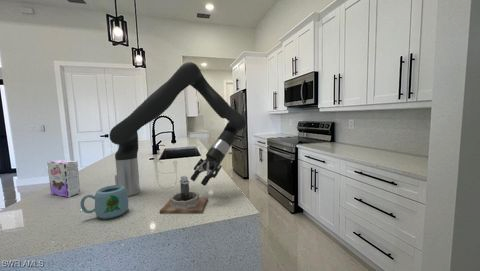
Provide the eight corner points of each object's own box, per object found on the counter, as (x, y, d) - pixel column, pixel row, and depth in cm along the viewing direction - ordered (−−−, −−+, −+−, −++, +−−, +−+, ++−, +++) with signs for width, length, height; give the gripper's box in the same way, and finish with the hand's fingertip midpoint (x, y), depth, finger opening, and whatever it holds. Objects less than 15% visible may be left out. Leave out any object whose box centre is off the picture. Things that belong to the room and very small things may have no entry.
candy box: (50, 194, 102) (46, 161, 101) (64, 190, 108) (60, 159, 106) (67, 198, 97) (63, 163, 96) (81, 193, 103) (77, 160, 101)
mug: (80, 227, 71) (77, 199, 70) (83, 214, 80) (81, 189, 79) (130, 215, 78) (128, 189, 77) (128, 205, 88) (126, 181, 87)
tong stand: (159, 213, 79) (159, 202, 79) (171, 200, 91) (170, 191, 91) (201, 213, 79) (201, 202, 78) (207, 200, 90) (207, 190, 90)
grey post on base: (175, 203, 85) (173, 177, 84) (188, 199, 89) (187, 174, 88) (182, 208, 81) (180, 180, 80) (195, 203, 85) (194, 176, 84)
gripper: (204, 145, 97) (183, 174, 91) (223, 148, 87) (200, 181, 80) (214, 154, 102) (194, 183, 95) (233, 158, 91) (212, 191, 85)
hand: (197, 182), depth 88 cm, fingers open, 8 cm apart
